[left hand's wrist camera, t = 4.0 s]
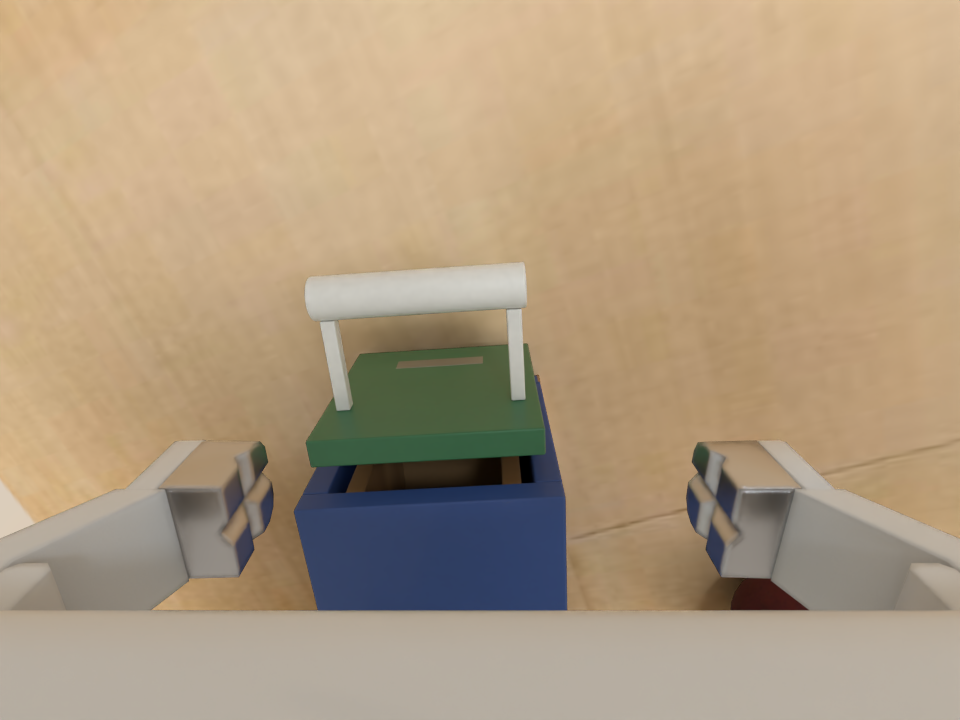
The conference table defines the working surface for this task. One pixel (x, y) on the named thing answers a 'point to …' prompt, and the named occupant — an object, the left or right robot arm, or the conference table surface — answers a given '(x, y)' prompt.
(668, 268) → the conference table surface
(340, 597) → the cabinet
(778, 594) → the potato
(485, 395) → the drawer
